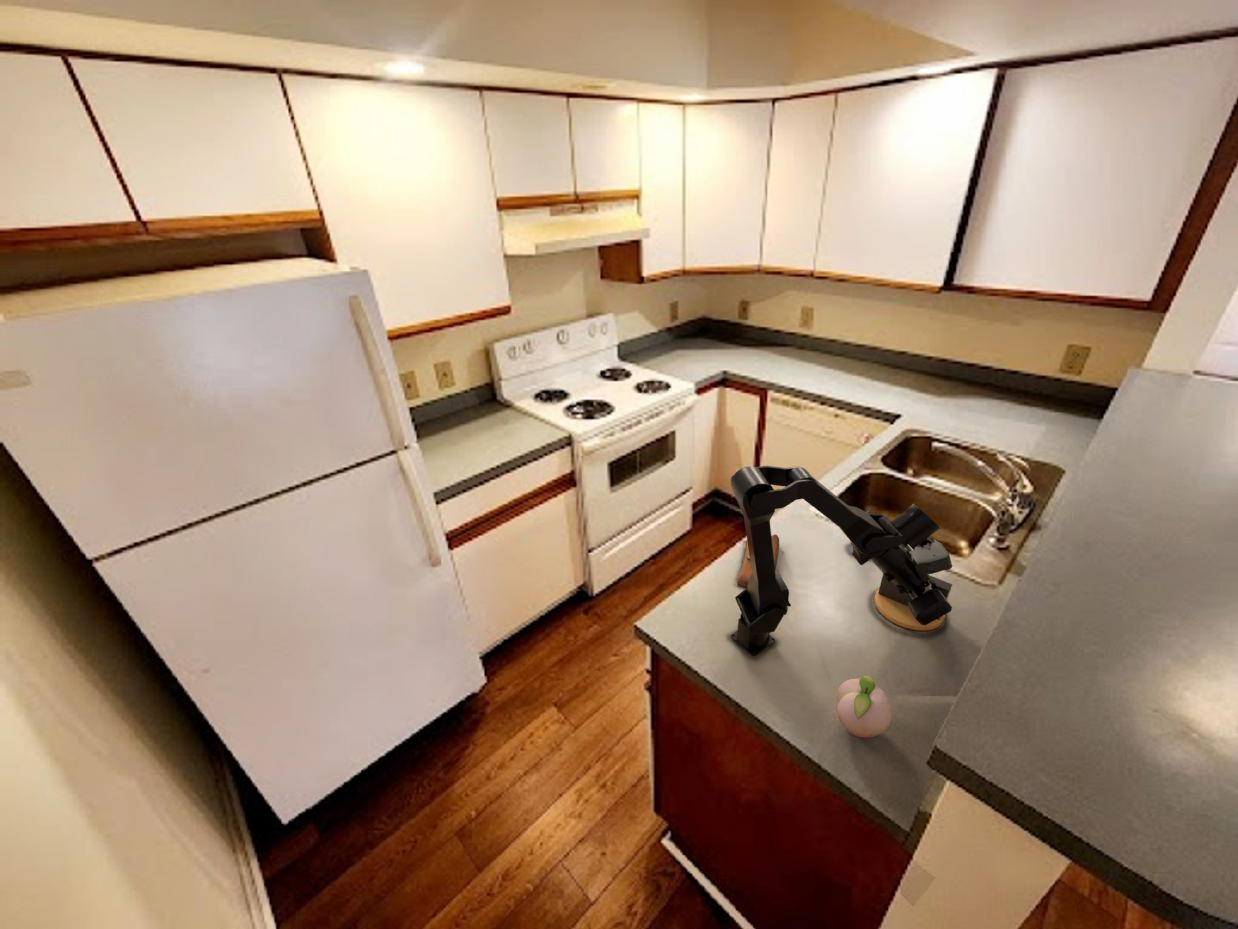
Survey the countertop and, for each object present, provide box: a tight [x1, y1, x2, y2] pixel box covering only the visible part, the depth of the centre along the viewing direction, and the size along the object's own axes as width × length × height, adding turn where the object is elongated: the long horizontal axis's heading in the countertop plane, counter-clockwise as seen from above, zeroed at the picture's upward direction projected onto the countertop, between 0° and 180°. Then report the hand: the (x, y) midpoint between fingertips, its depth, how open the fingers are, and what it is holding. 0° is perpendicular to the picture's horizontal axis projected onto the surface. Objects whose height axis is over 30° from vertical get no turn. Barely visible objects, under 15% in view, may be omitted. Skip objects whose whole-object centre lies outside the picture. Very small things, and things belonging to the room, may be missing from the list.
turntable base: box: [871, 589, 947, 633], centre depth 113 cm, size 14×14×1 cm
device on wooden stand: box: [874, 573, 953, 630], centre depth 111 cm, size 13×13×9 cm
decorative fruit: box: [836, 675, 892, 738], centre depth 88 cm, size 9×8×10 cm
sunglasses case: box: [736, 533, 780, 588], centre depth 127 cm, size 18×7×7 cm
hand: (935, 604), depth 106 cm, fingers closed
